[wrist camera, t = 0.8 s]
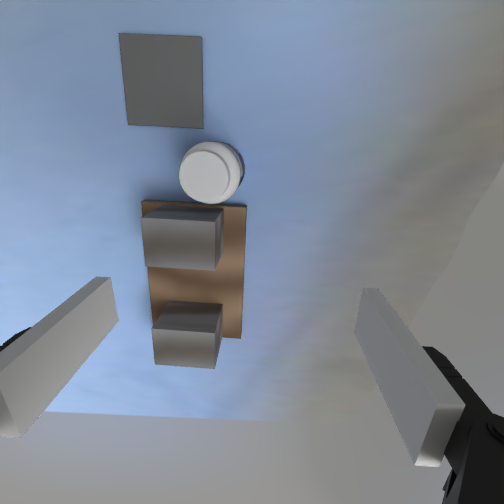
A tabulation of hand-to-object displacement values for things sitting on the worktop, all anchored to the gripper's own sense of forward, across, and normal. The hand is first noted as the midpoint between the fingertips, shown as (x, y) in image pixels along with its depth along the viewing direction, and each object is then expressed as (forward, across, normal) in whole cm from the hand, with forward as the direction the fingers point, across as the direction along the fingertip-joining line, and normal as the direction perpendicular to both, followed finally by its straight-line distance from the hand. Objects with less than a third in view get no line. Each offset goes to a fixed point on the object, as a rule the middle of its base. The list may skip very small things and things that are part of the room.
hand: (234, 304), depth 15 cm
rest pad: (+20, -9, +13) cm, 25 cm away
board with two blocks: (+19, -7, -8) cm, 22 cm away
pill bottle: (+20, -4, +5) cm, 21 cm away
